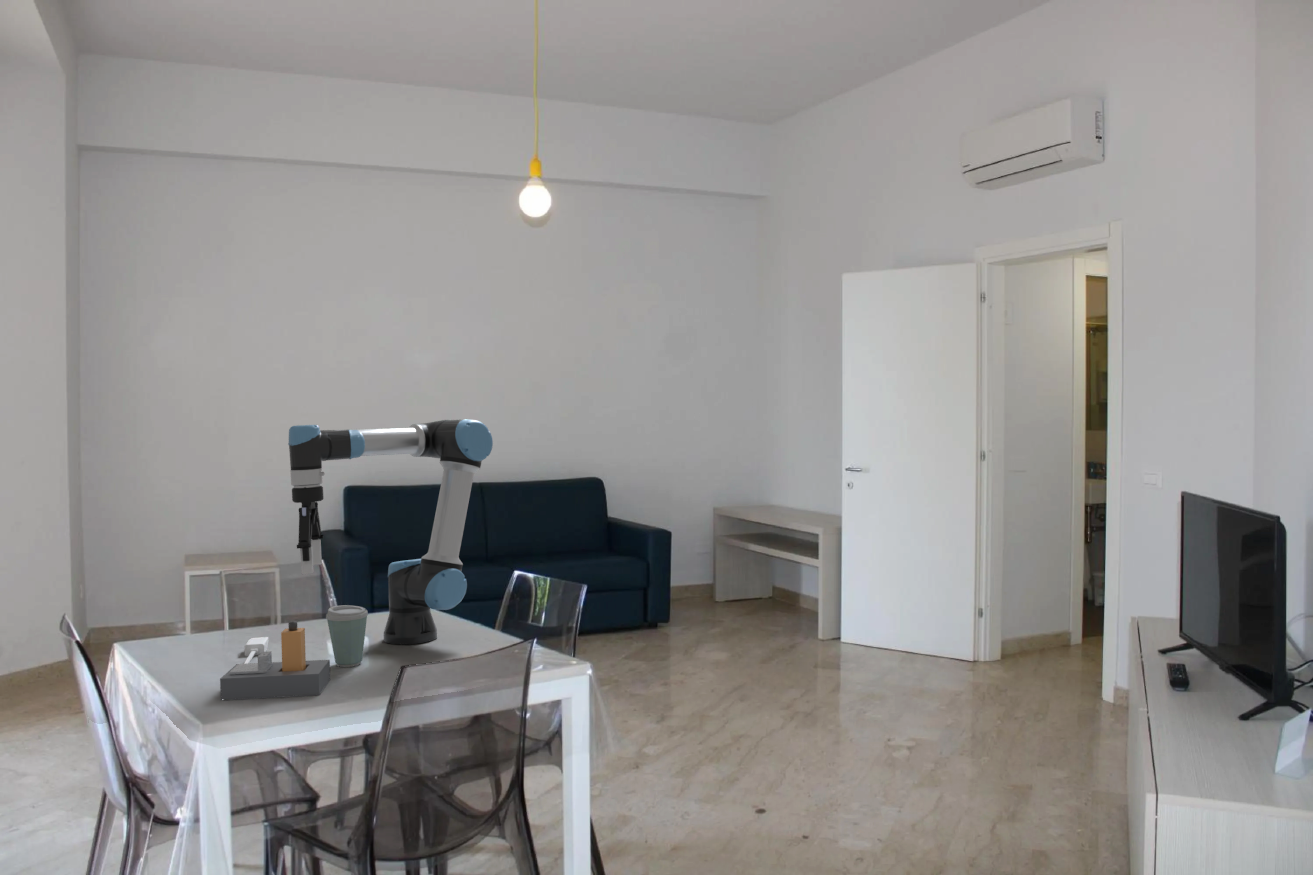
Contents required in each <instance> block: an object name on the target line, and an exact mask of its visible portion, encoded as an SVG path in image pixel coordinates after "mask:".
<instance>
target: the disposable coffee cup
mask: <svg viewBox="0 0 1313 875" xmlns="http://www.w3.org/2000/svg"><path fill="white" fill-rule="evenodd" d="M325 619H326V621H327V626H328V631H329V636H330V642H331V645H332V646H331V647H332V653H333V657H334V661H335V662H334V663H335V664H336V666H337V667H339V666H340V667H339V668H352V667H356V666H360V665H361V664H362V661H363V655H364V646H365V639H366V637H365V636H366V629H367V621H368V620H367V619H368V610H367V609H366V608H365V607H363V606H358V605H349V604H347V605H346V604H345V605H333V606H331V607H329V608H328V609H327V613H326V614H325ZM359 664H360V665H359Z"/></svg>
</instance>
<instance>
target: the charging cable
mask: <svg viewBox="0 0 1313 875" xmlns="http://www.w3.org/2000/svg"><path fill="white" fill-rule="evenodd" d="M269 642H270V641H269V636H262V637H252V638H249V639H248V641H247V642H246V643H245V645H244V657H247V658H246V660H245V661H244V663H243V664H248V663H251V661H252V659H253V658H254V656H259V655H260V654H261V653H262V652H268V648H269Z"/></svg>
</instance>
